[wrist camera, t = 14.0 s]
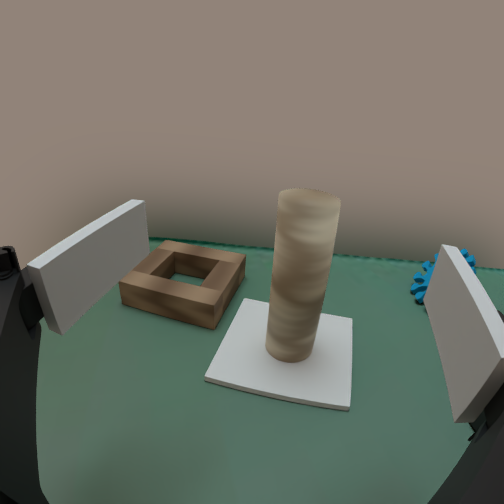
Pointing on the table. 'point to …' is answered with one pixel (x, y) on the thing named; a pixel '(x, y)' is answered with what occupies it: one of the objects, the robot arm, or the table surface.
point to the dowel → (300, 270)
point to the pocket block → (182, 294)
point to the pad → (283, 373)
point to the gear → (426, 278)
